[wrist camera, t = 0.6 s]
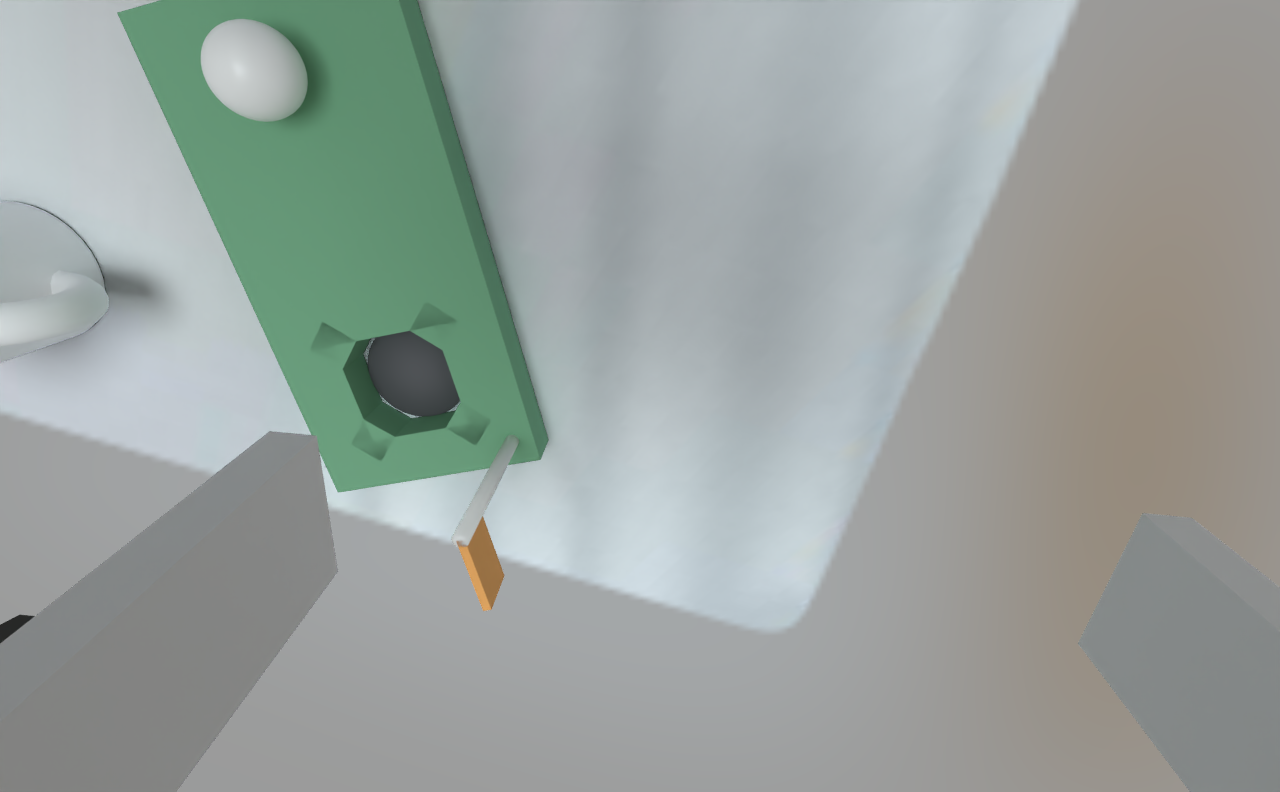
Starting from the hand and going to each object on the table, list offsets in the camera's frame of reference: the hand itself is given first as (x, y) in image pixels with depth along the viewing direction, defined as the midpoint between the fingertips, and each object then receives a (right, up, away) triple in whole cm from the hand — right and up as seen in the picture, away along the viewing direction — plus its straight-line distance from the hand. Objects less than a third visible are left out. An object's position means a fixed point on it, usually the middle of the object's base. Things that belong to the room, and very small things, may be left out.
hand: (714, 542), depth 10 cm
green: (-16, +9, +25) cm, 31 cm away
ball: (-18, +17, +17) cm, 30 cm away
